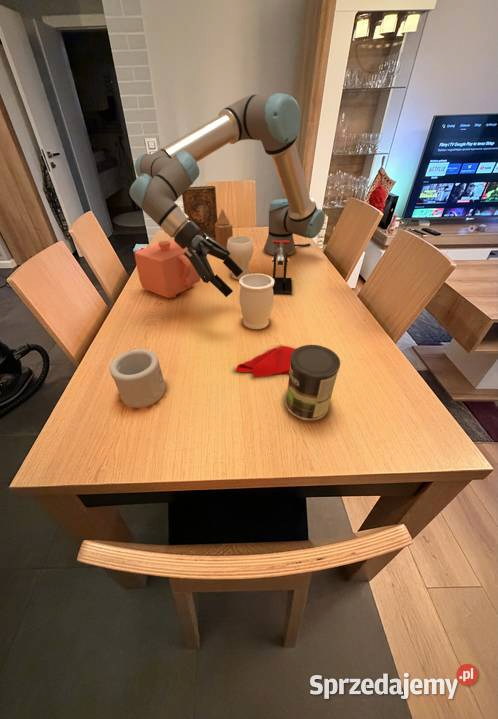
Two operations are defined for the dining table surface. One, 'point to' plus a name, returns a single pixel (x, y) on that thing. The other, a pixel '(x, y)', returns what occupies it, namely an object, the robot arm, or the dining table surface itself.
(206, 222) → the book
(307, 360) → the coffee can
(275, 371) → the cloth
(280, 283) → the lever stand
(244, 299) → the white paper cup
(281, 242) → the corkscrew
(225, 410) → the dining table surface
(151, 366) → the grey hollow cylinder
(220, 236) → the decorative item
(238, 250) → the cup
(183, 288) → the teapot
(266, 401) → the dining table surface
